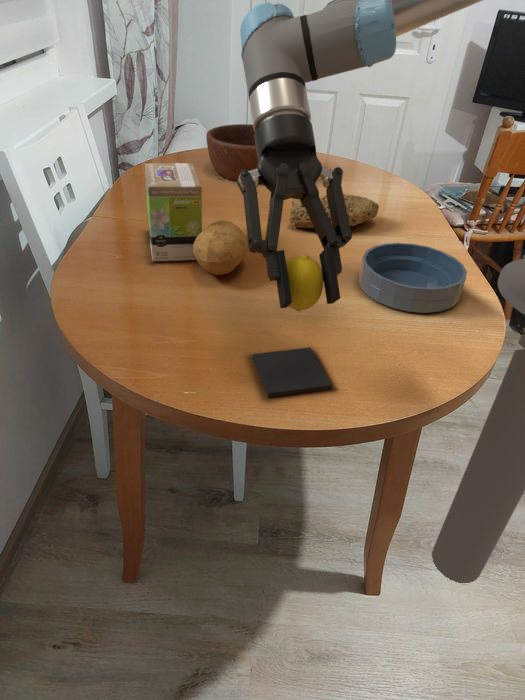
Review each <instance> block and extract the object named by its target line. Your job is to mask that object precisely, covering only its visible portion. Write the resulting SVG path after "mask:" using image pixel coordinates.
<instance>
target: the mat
mask: <svg viewBox="0 0 525 700" xmlns="http://www.w3.org/2000/svg"><path fill="white" fill-rule="evenodd" d="M251 358H252V360H253V363H254V365H255V368H256V370H257V374H258V376H259V379H260V381H261V383H262V386H263V388H264V390H265V393H266V396H267V398H269V399H270V398H276V397H283V396H290V395H297V394H306V393H312V392H320V391H327V390H331V389H332V387H333V386H332V383H331V381H330V379H329V377H328V375H327V374H326V372H325V370H324V368H323V367H322V364H321V363H320V361H319V360H318V358H317V356H316V354H315V353H314V351H313V349H312V348H311V347H302V348H295V349H293V348H292V349H286V350H285V349H284V350H277V351H276V350H275V351H269V352H268V351H267V352H260V353H259V352H257V353H253V354H252V357H251Z"/></svg>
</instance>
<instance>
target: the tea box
mask: <svg viewBox="0 0 525 700" xmlns="http://www.w3.org/2000/svg"><path fill="white" fill-rule="evenodd" d="M144 184H145V201H146V213H147V226H148V236H149V244H150V245H149V246H150V253H151V261H152V262H179V261H180V262H181V261H197V259H196V257H195V255H194V253H193V244H194V242H195V240H196V238H197V236H198V235H199V234H200V233H201V232H202V231H203V190H202V189H203V187H202V184H201V181H200V178H199V176H198V173H197V171H196V168H195V165H194V163H193V162H163V163H162V162H152V163H151V162H150V163H149V162H147V163H144Z"/></svg>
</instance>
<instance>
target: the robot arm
mask: <svg viewBox="0 0 525 700" xmlns="http://www.w3.org/2000/svg"><path fill="white" fill-rule="evenodd" d="M482 1H483V0H331V1H330V2H328V3H327V4H326V5H325V6H324V7H323V8H322V9H321V10H317V11H315V12H312V13H309V14H304V15H299V16H295V15H294V14H293V12H292V10H291V9H290V8H289V7H288V6H287V5H285V4H283V3H279V2H277V3H275V4H274V3H271V2H264V3H261V4H257V5H256V6H254V7H253V8H252V9H250V10H249V11H248V12H247V13H246V15H244V18H243V20H242V21H241V25H240V28H239V29H240V30H239V33H240V44H241V52H240V56H241V60H242V65H243V72H244V78H245V83H246V90H247V94H248V101H249V108H250V115H251V123H252V125H253V129H254V132H255V134H254V137H255V144H256V151H257V158H258V167H257V169H255V170H252V171H248V170H246V169H244V170H242V171H241V173H240V176H239V179H238V181H236V184H237V187H238V188H239V191H240V192H241V194H242V198H243V205H244V206H243V207H244V216H245V225H246V235H247V243H248V244H247V247H248V250H249V252H250V253H252V254H260V255H262V258H263V259H265V265H266V272H267V277H268V280H269V281H270V282H276V288H277V295H278V303H279V309H287V308H288V307H289V305H290V304H291V303H292V298H291V292H290V285H289V279H288V272H287V266H286V264H287V259H286V254H285V252H286V251H285V249H280V250H278V246H279V238H280V232H281V223H282V216H283V207H284V201H286V200H289V199H293V200H299V199H300V202H301V204H302V206H303V207H305V208H306V211H307V213H308V215H309V217H310V220H311V222H312V224H313V226H314V228H313V229H314V230H315V233H316V235H317V238H318V239H319V241H320V244H321V246H322V248H323V249H322V251H321V252H320V253H319V255H318V256H319V261H320V268H321V270H322V274H323V288H324V292H325V293H324V294H325V298H326V304H327V305H329V304H330V305H333V304H335V302H337V301H339V300H340V299H341V292H340V287H339V281H338V276H339V275H340V274H342V272H343V265H342V259H341V253H340V249H341V248H344V247H345V246H346V245H347V244H348V243H349V242H350V241H351V240H352V238H353V235H352V234H353V233H352V230H351V226H350V224H349V220H348V215H347V210H346V205H345V201H344V196H343V194H344V191H343V187H342V186H343V185H342V180H343V175H344V171H343V169H342V168H341V167H340V166H336V167H335V168H334V169H331V168H327V167H323V164H322V162H321V161H320V160H319V158H318V156H317V146H316V141H315V140H316V139H315V134H314V129H313V123H312V121H311V120H312V115H311V110H310V105H309V99H308V93H307V87H306V84H307V83H310V82H315V81H318V80H320V79H323V78H327V77H331V76H335V75H339V74H343V73H347V72H350V71H354V70H355V71H356V70H359V69H362V68H365V67H367V68H370V67H373V66H374V65H376V64H379V63H381V62H385V61H387V60H390V59H391V58H393V56H395V54H396V50H397V37H400V36H401V35H405V34H406V33H409V32H412V31H413V30H416V29H418V28H421V27H423V26H426V25H428V24H430V23H433V22H434V21H437V20H439V19H443V18H445V17H446V16H449V15H452V14H453V13H457V12H459V11H461V10H463V9H465V8H468V7H470V6H473V5H475V4H477V3H480V2H482ZM258 179H259V180H260V181H261V182H260V183H261V184H262V185H263V186H264V187H265V188H266V189H267V190H268V191H269V192H270V196H269V197H270V198H269V210H268V217H267V223H266V231H265V239H263V235H262V227H261V225H262V224H261V217H260V216H261V215H260V207H259V198H258V190H257V188H258V185H259V182H258ZM318 179H321V181H322V186H323V188H325V196H326V195H327V201H328V206H329V211H330V215H331V220H332V224H331V222H330V219H329V217H328V215H327V213H326V211H325V208H324V206H323V204H322V202H321V200H320V198H321V196H320V190H319V188H318V186H317V181H318ZM332 225H333V226H332Z"/></svg>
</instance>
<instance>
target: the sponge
mask: <svg viewBox="0 0 525 700" xmlns="http://www.w3.org/2000/svg"><path fill="white" fill-rule="evenodd" d="M343 196H344V201H345V205H346V210H347V215H348V220H349V224H350V227H355V226H357V225H359V224H362V223H366V222H369V221H372V220H373V219H374V218H375V217H377V215H378V214H379V208H380V206H379V203H377V202H375V201H374V200H372V199H370V198H368V197H365V196H360V195H354V194H346V193H345V194H344V193H343ZM320 200H321V202H322V204H323V206H324V208H325V211H326V213H327V215H328V217H329V219H330V222H331V224H332V220H331V215H330V211H329V206H328V201H327V195H326V194H325V195H324V196H320ZM291 204H292V206H291V207H290V214H289V216H290V222H291V225H292V227H295V228H305V229H315V228H314V226H313V224H312V222H311V220H310V217H309V215H308V213H307V211H306V208H305V207H303V206H302V204H301V202H300V199H293V200H292V202H291ZM332 226H333V225H332Z"/></svg>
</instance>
